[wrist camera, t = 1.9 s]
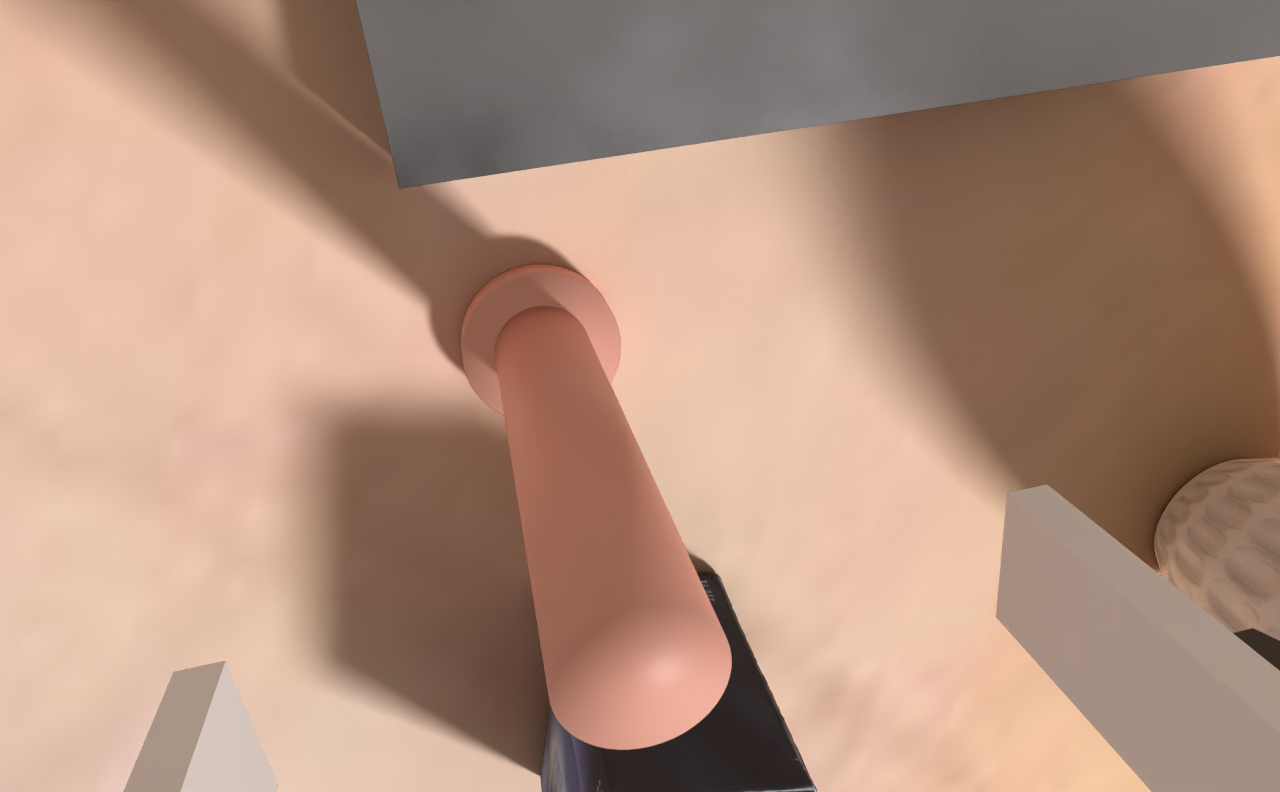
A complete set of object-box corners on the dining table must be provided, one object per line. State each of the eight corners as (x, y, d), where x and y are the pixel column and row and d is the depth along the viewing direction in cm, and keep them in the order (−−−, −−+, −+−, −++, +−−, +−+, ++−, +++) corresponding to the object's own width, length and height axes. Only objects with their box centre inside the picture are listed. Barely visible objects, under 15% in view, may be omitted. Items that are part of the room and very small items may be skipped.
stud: (477, 421, 29) (513, 825, 14) (446, 278, 27) (452, 588, 12) (622, 393, 29) (794, 752, 15) (604, 251, 27) (784, 514, 13)
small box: (555, 568, 32) (603, 800, 22) (721, 566, 33) (831, 783, 24) (531, 780, 36) (563, 1052, 26) (680, 770, 37) (760, 1023, 28)
